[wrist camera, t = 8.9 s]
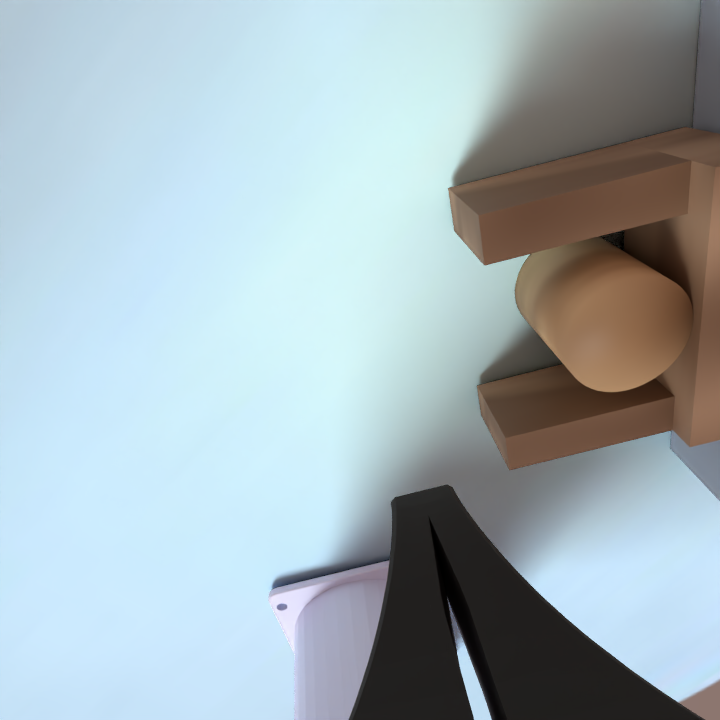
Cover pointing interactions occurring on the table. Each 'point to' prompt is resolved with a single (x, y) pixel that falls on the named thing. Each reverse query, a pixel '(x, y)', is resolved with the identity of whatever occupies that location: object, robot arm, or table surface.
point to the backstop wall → (716, 114)
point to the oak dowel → (604, 313)
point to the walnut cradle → (642, 241)
